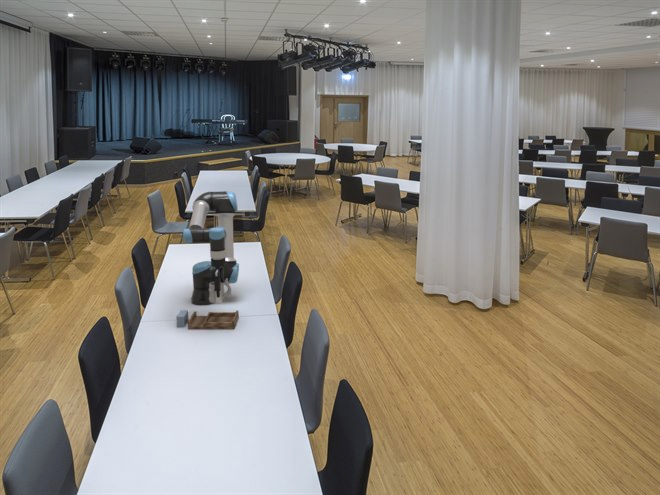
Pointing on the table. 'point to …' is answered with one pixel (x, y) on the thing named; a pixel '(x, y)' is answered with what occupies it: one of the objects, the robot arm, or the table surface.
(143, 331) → the table surface
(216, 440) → the table surface
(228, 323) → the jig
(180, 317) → the blue-grey rectangular block
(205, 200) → the robot arm
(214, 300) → the mug
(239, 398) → the table surface
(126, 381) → the table surface
